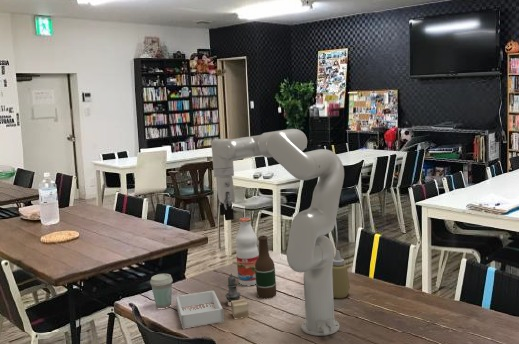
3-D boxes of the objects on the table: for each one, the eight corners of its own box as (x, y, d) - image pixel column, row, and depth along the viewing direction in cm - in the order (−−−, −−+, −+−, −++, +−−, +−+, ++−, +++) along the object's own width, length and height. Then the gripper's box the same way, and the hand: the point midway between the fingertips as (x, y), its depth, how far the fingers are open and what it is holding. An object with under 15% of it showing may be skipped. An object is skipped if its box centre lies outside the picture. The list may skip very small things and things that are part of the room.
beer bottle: (277, 291, 214) (273, 233, 211) (275, 298, 207) (272, 238, 203) (257, 292, 215) (253, 234, 212) (255, 299, 207) (251, 239, 204)
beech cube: (248, 317, 191) (247, 303, 191) (234, 319, 190) (233, 306, 189) (245, 311, 196) (244, 299, 195) (232, 314, 195) (231, 301, 194)
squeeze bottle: (344, 301, 200) (341, 254, 197) (325, 297, 205) (323, 252, 202) (354, 294, 206) (352, 249, 204) (335, 290, 211) (333, 246, 209)
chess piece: (239, 306, 201) (237, 276, 200) (224, 306, 202) (221, 276, 201) (242, 300, 207) (240, 271, 205) (228, 300, 208) (225, 271, 206)
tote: (223, 322, 188) (222, 308, 187) (182, 329, 184) (181, 315, 184) (214, 302, 207) (213, 290, 206) (177, 308, 203) (175, 296, 203)
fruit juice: (263, 279, 229) (259, 216, 225) (256, 287, 220) (251, 221, 217) (243, 278, 232) (238, 215, 229) (235, 285, 224) (230, 220, 220)
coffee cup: (170, 311, 201) (167, 280, 200) (149, 310, 203) (146, 280, 201) (178, 302, 209) (175, 273, 208) (157, 302, 211) (154, 273, 210)
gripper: (238, 174, 190) (241, 220, 193) (229, 168, 207) (232, 211, 209) (217, 176, 188) (221, 223, 191) (210, 170, 205) (213, 213, 207)
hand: (226, 217), depth 200 cm, fingers open, 9 cm apart
